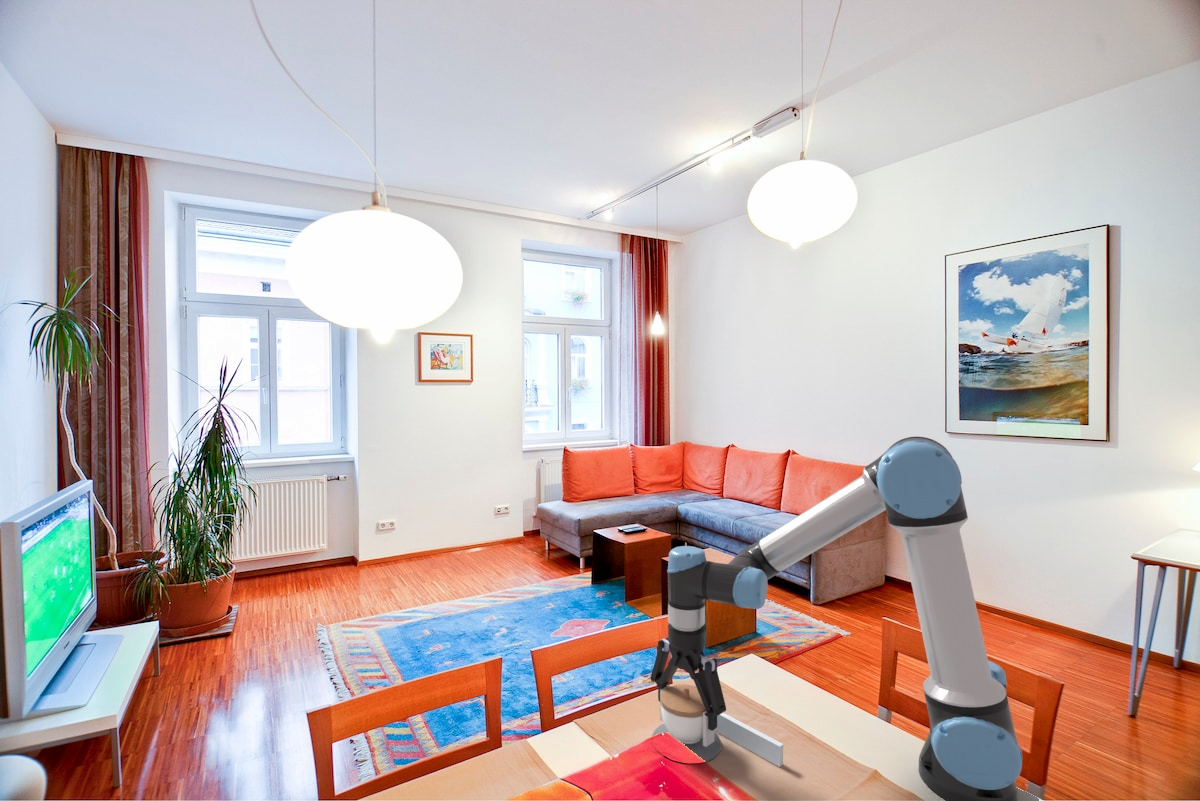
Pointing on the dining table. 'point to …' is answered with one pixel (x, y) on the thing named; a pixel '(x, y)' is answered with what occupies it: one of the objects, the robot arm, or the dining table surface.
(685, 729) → the lidded jar
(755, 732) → the low wall
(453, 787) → the dining table surface
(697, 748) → the gray round disc
